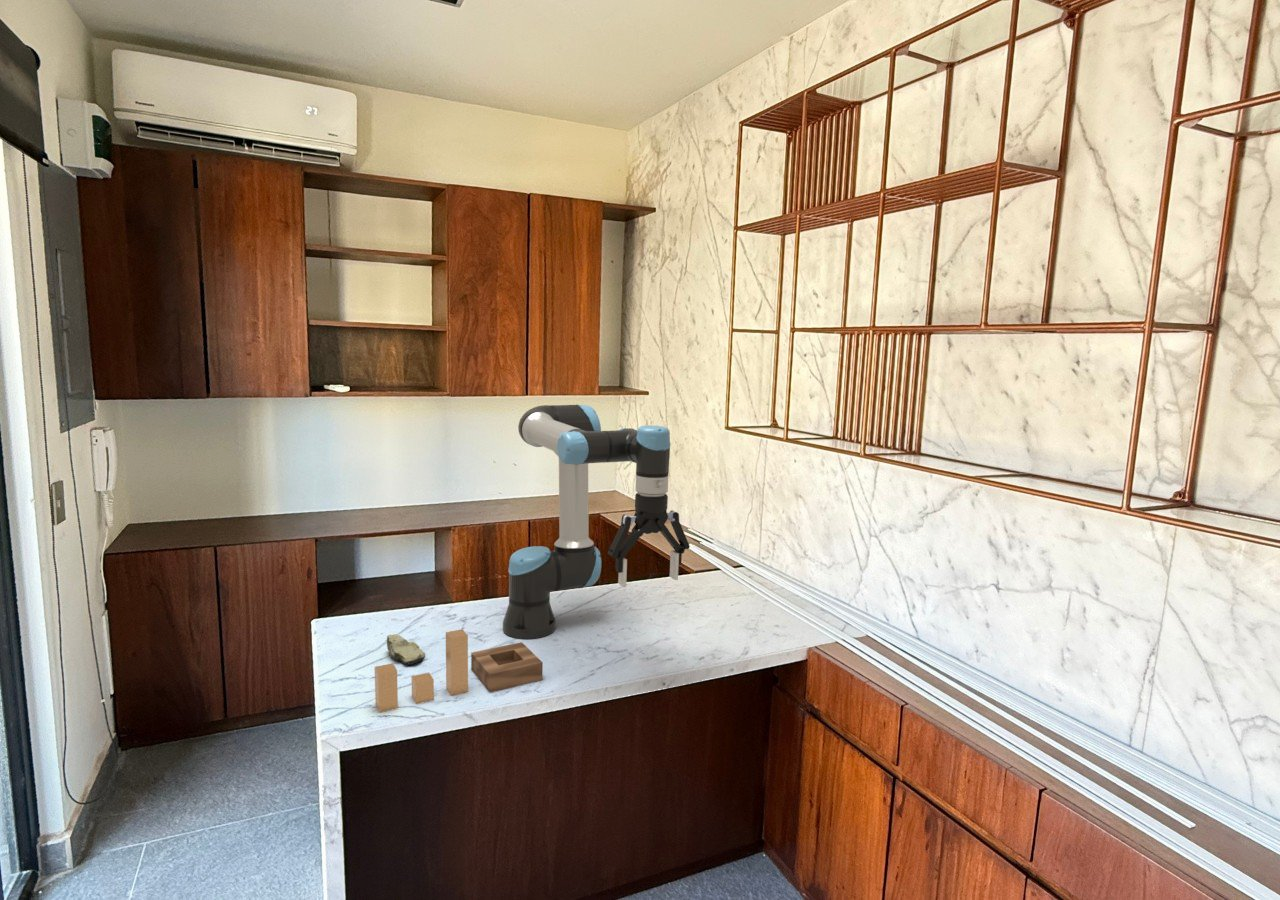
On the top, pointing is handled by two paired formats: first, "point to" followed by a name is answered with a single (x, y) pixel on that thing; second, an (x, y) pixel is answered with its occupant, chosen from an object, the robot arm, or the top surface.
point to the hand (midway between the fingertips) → (648, 581)
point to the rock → (404, 650)
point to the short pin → (422, 688)
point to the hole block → (506, 666)
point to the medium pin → (386, 687)
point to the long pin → (456, 662)
